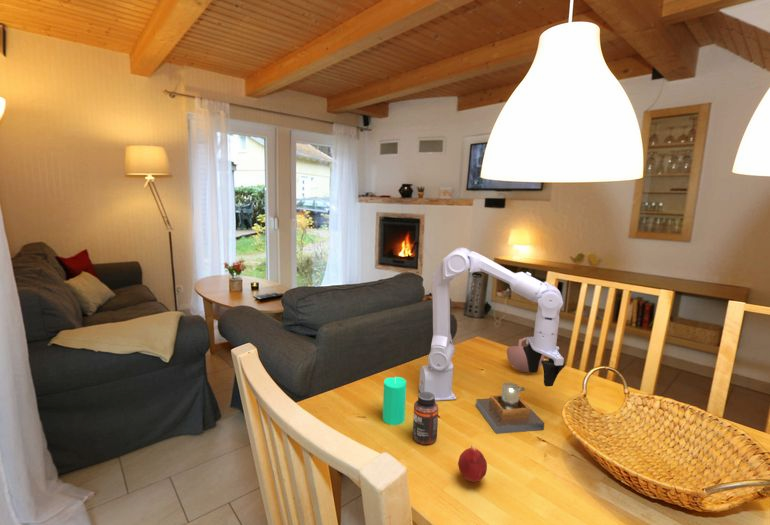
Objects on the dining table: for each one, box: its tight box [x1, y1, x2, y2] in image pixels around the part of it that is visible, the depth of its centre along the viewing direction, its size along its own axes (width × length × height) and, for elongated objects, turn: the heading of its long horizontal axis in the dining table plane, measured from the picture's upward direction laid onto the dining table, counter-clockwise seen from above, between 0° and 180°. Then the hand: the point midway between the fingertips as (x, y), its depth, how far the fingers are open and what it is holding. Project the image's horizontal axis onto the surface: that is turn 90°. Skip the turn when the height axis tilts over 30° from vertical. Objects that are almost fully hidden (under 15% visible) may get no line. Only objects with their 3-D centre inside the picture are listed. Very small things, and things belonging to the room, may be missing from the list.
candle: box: [382, 376, 407, 426], centre depth 101 cm, size 6×6×12 cm
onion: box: [457, 444, 488, 483], centre depth 80 cm, size 6×6×8 cm
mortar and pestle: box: [506, 336, 545, 373], centre depth 132 cm, size 12×12×12 cm
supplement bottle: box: [412, 392, 439, 445], centre depth 93 cm, size 6×6×11 cm
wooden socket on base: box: [475, 394, 545, 435], centre depth 104 cm, size 13×13×4 cm
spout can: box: [501, 382, 526, 409], centre depth 103 cm, size 6×4×7 cm
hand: (540, 378), depth 105 cm, fingers open, 7 cm apart
